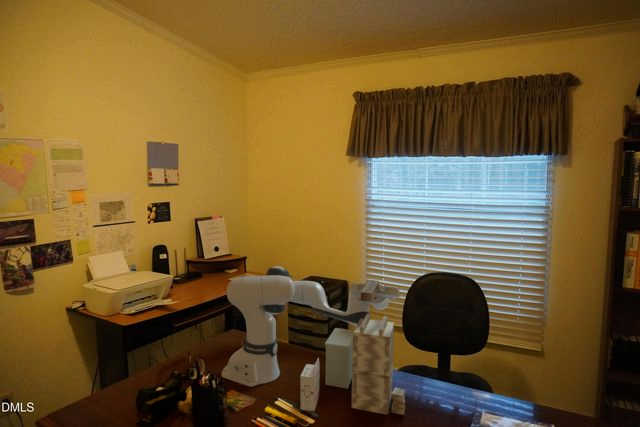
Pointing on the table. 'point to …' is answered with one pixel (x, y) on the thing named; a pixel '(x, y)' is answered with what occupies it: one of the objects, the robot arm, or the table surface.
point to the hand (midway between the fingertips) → (372, 285)
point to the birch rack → (372, 365)
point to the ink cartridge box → (310, 386)
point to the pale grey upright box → (339, 358)
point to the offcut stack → (398, 401)
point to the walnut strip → (369, 290)
